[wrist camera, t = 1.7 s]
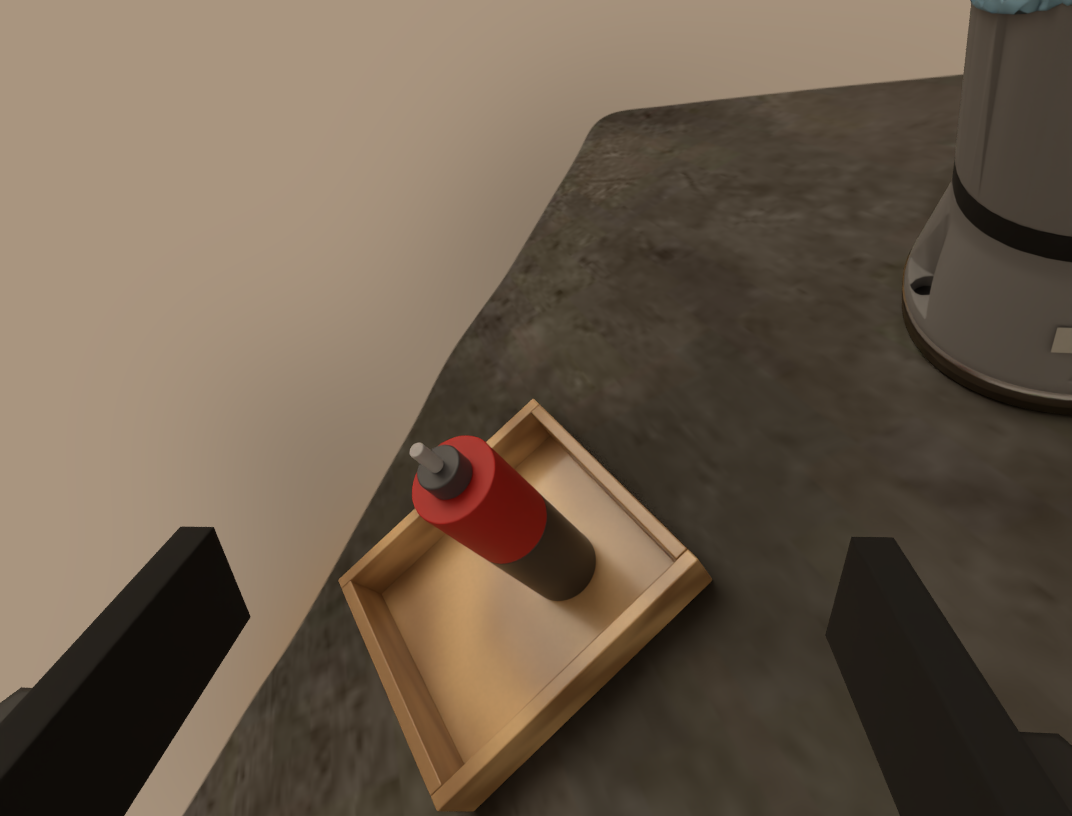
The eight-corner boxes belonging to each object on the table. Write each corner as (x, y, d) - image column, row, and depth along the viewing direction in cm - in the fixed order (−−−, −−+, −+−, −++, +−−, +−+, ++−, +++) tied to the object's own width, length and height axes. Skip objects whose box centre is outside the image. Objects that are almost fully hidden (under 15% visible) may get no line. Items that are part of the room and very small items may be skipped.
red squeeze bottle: (568, 516, 38) (433, 386, 26) (610, 564, 35) (479, 442, 23) (517, 564, 37) (358, 455, 26) (555, 617, 34) (396, 520, 23)
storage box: (554, 423, 42) (533, 397, 40) (713, 580, 32) (698, 559, 29) (371, 594, 42) (337, 579, 39) (473, 812, 31) (436, 812, 29)
